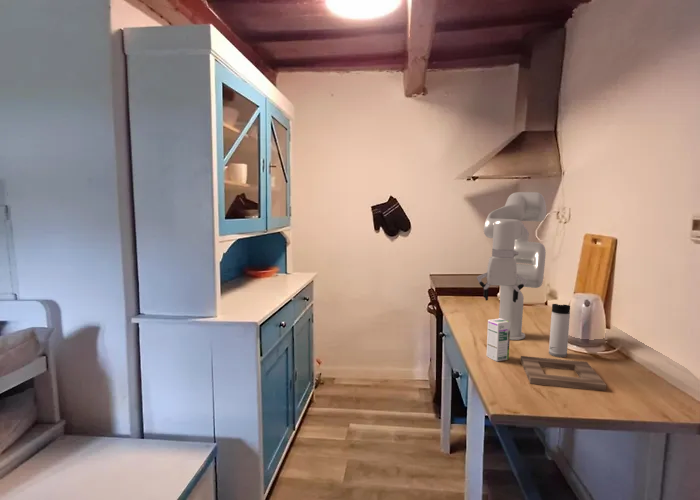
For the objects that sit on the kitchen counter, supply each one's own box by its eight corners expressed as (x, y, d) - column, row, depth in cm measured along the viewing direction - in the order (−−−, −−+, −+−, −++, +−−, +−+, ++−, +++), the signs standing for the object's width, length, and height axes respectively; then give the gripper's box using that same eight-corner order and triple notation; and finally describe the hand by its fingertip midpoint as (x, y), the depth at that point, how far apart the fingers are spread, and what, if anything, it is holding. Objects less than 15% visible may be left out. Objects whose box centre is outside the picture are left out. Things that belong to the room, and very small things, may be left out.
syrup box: (496, 362, 158) (499, 323, 157) (485, 356, 164) (487, 318, 162) (508, 359, 161) (511, 321, 159) (497, 354, 166) (499, 317, 164)
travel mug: (549, 356, 165) (553, 304, 162) (548, 350, 171) (551, 300, 169) (567, 358, 163) (571, 306, 160) (565, 353, 169) (569, 302, 166)
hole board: (520, 361, 159) (520, 355, 159) (586, 367, 155) (586, 361, 154) (530, 383, 140) (530, 377, 140) (605, 391, 135) (606, 384, 135)
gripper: (526, 254, 159) (523, 300, 161) (477, 252, 163) (475, 297, 165) (530, 256, 152) (527, 304, 154) (478, 254, 156) (476, 301, 158)
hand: (500, 300), depth 159 cm, fingers open, 9 cm apart
